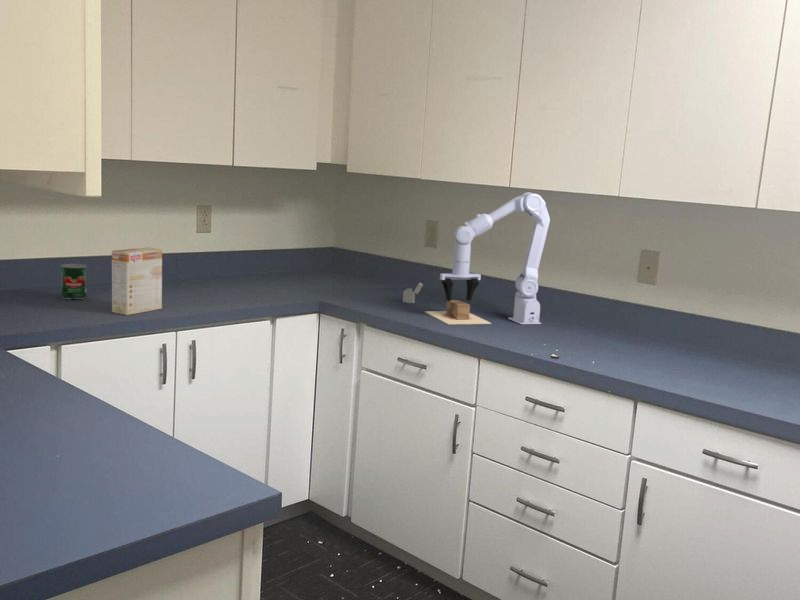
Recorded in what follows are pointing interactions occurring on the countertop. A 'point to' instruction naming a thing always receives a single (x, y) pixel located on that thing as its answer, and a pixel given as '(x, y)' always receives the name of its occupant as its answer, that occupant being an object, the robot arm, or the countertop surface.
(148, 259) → the coffeecake box
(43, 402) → the countertop surface
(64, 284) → the canned tomato
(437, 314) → the mat
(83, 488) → the countertop surface
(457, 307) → the walnut block
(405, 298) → the lighter
